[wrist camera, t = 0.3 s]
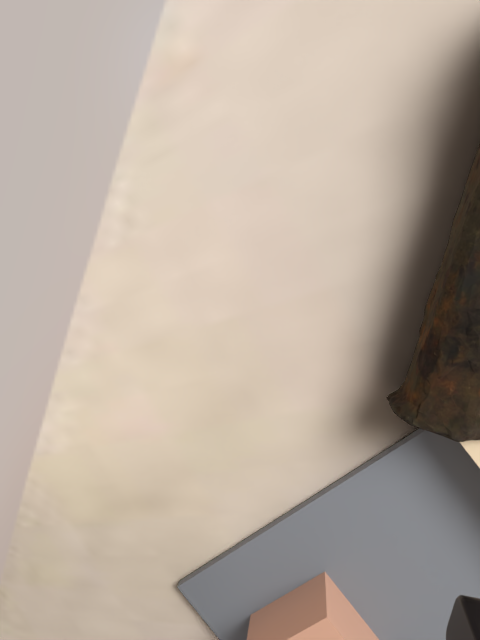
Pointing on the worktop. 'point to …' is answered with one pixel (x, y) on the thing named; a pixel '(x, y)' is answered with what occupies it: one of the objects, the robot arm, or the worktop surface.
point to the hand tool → (450, 335)
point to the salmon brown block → (310, 615)
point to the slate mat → (364, 545)
